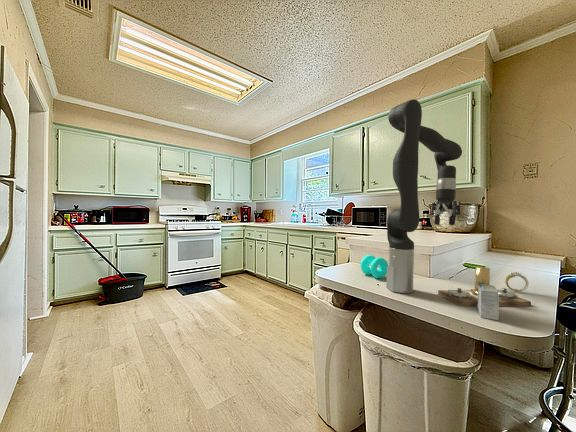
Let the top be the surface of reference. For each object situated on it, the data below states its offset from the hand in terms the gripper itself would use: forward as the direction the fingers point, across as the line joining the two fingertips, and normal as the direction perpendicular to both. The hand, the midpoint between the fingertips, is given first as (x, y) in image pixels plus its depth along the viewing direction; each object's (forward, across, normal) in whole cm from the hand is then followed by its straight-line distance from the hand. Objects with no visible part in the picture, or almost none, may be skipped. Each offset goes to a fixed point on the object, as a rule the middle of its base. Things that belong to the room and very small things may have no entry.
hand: (444, 225), depth 112 cm
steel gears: (+26, +20, 0) cm, 32 cm away
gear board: (+27, +20, 0) cm, 34 cm away
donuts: (+28, -16, -24) cm, 40 cm away
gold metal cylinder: (+26, +20, 0) cm, 32 cm away
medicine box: (+29, +31, -10) cm, 44 cm away
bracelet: (+26, +13, +23) cm, 37 cm away
